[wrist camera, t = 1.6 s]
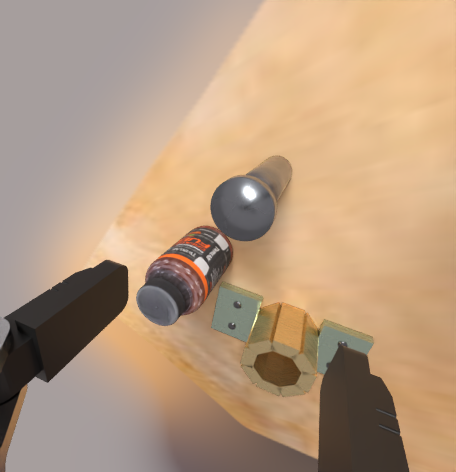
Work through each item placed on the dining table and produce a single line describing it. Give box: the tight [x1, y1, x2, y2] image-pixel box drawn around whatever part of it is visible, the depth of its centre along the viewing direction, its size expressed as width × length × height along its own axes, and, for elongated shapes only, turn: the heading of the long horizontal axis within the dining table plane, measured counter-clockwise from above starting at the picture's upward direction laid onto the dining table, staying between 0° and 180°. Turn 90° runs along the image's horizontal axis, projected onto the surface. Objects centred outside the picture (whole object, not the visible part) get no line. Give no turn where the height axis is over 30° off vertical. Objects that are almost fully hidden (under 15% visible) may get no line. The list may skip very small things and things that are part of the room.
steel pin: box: [211, 156, 292, 241], centre depth 20 cm, size 4×4×12 cm
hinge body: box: [211, 282, 374, 397], centre depth 30 cm, size 7×18×6 cm, turn 79°
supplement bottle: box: [136, 226, 233, 326], centre depth 27 cm, size 6×6×11 cm
